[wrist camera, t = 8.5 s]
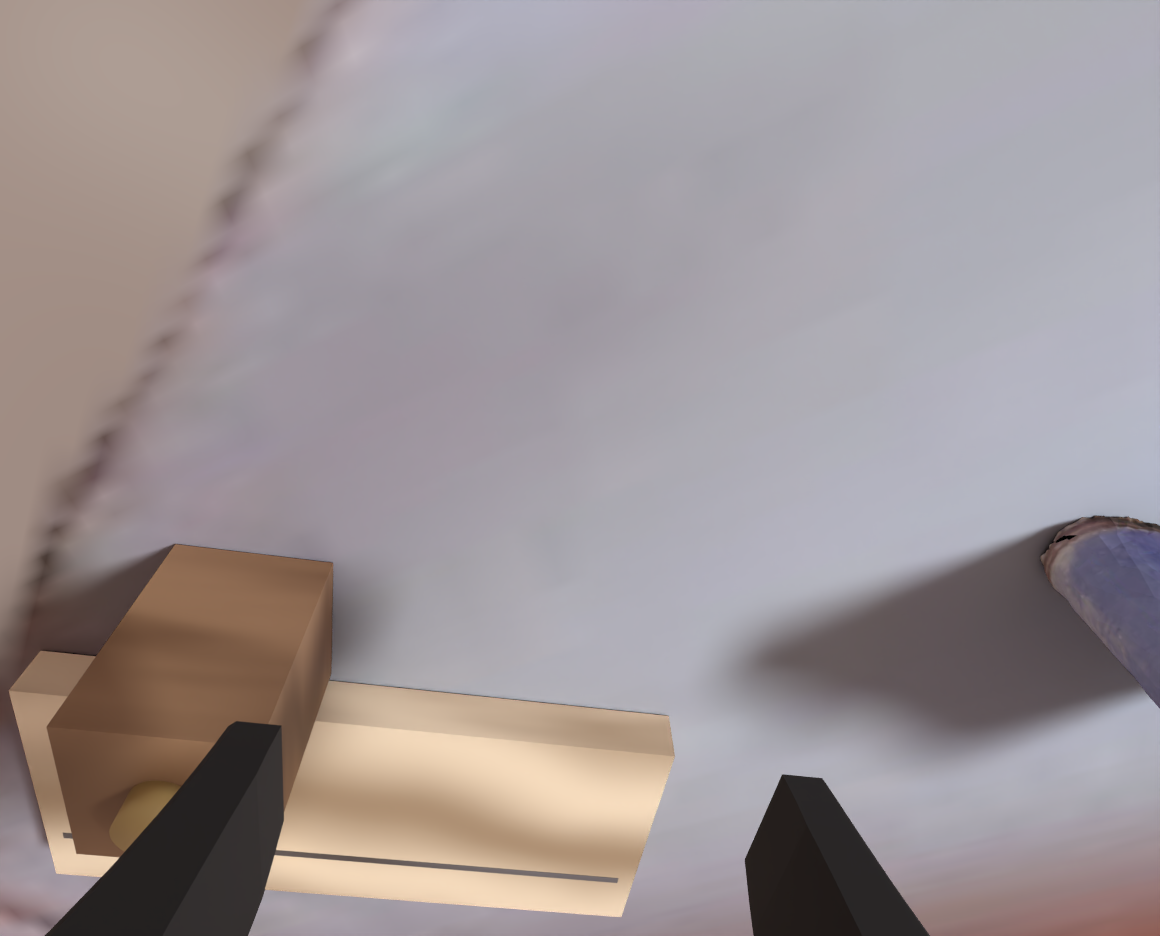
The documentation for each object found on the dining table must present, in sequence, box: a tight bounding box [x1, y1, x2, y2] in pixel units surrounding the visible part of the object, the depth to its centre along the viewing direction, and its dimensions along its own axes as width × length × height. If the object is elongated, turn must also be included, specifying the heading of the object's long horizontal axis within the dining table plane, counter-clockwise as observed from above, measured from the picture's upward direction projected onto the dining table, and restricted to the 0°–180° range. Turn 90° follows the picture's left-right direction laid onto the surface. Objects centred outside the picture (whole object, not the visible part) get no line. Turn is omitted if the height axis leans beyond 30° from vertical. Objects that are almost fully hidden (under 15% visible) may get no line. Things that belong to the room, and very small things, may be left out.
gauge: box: [46, 544, 333, 857], centre depth 21 cm, size 11×4×7 cm, turn 170°
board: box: [9, 651, 675, 917], centre depth 25 cm, size 8×18×2 cm, turn 80°
